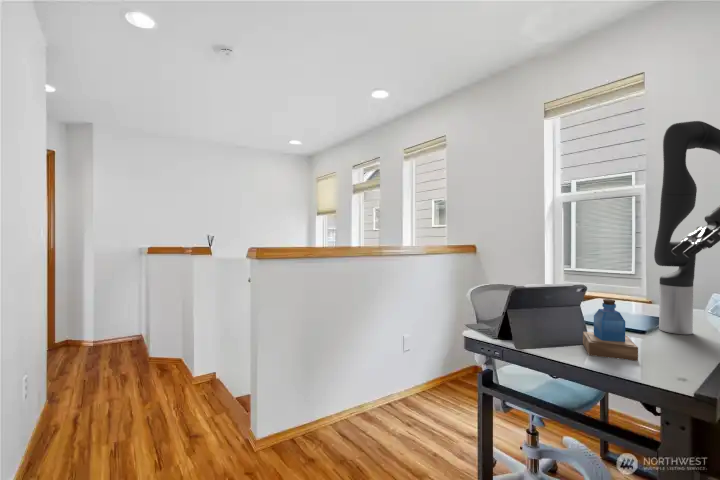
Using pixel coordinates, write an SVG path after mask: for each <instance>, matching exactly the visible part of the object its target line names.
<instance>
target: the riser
mask: <svg viewBox="0 0 720 480" xmlns="http://www.w3.org/2000/svg"><path fill="white" fill-rule="evenodd" d="M582 345H583V347H584V348H585V350H586V352H587V354H588V356H593V357H601V358H608V357H609V359H617V358H619V359H620V360H625V359H628V360H627V361H636V362H639V346H638V345H637V344H636V343H635V342H633V340H632V339H630V338H629V336H628V335H625V342H620V341H602V340H601V339H599V338H598V337H596V336H595V335H594V331H593V332H592V331H582Z"/></svg>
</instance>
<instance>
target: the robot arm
mask: <svg viewBox="0 0 720 480" xmlns="http://www.w3.org/2000/svg"><path fill="white" fill-rule="evenodd" d="M692 149H704V150H708V151H709V150H710V151H713V152H715V153H717V154H718V155H720V129H719V128H717V127H716V126H714V125H712V124H709V123H708V122H704V121H702V120H690V121H684V122H683V121H682V122H676V123H673V124H671V125H669V126H668V127H667V128H666V129H665V131H664V135H663V138H662V156H663V157H662V158H663V168H662V169H663V171H662V186H661V194H660V208H659V209H660V212H659V222H658V229H657V235H656V241H655V245H654V253H653V254H654V255H653V256H654V261H655V264H656V265H657V266H660V267H676V268H677V267H678V269H677V270H675V271H674V272H672V273H668V274H665V275H661V276H660V277H659V310H658V311H659V313H658V314H659V315H658V316H659V317H658V318H659V319H658V321H659V322H658V330H660V331H663V332H666V333H670V334H674V335H675V334H676V335H686V336H687V335H693V333H694V332H693V331H694V327H693V326H694V280H695V271H696V270H695V268H696V261H697V256H696V255H697V254H699V252H701V251H703V250H706V249H712V248H713V246H715V245H716V244H717V243H719V242H720V205H719V206H717V207H716V208H715V209H713V210H712V211H710V212H709V213H708V214H707V215H706V216H704V221H705V223H706V225H704V226H697V227H695V228H694V229H693V230H692V231H690V232H689V233H687V234H686V235H685V236H684V237H682V238H681V239H680V241H671V240H672V237H673V235H674V232H675V230H676V229H677V228H678V227H679V225H680V224H681V223H682V222H683V221H685V220H686V218H687V217H688V216H689V215H690V214H691V213H692V211H693V210H694V209H695V206H696V201H697V200H696V199H697V189H698V187H697V184H696V181H695V180H694V178H693V177H692V175H691V173H690V171H689V169H688V168H687V167H688V166H687V150H692Z"/></svg>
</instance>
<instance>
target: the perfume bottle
mask: <svg viewBox="0 0 720 480" xmlns="http://www.w3.org/2000/svg"><path fill="white" fill-rule="evenodd" d="M602 301H603V302H602V304H601V305H602V307H603V308H598V310H597V311H596V312H595V314H594V315H593V332H594V335H595V336H596V337H598V338H599V339H601V340H602V341H620V342H625V336H626V321H625V320H626V319H625V318H624V317H623V315H622V314H621V312H619V311H617V309H616V308H617V304H616V303H615V302H616V300H615V299H611V298H610V299H609V298H604V299H602Z"/></svg>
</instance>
